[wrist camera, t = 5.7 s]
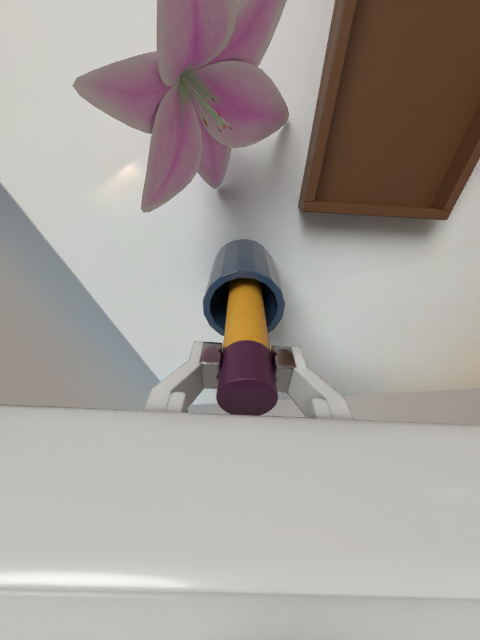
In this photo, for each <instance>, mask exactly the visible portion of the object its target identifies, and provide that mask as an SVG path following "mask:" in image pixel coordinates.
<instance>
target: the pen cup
mask: <svg viewBox="0 0 480 640" xmlns="http://www.w3.org/2000/svg"><path fill="white" fill-rule="evenodd" d="M236 278H253V279H256V280H258V281H260V282H261V289H262V296H263V303H264V310H265V317H266V324H267V332H268V333H269V332H271V331H272V330H274V329H275V327H276V326H277V325H278V323H279V322H280V320H281V319H282V317H283V312H284V307H285V302H284V299H283V295H282V291H281V288H280V285H279V282H278V278H277V275H276V272H275V269H274V265H273V262H272V259H271V256H270V255H269V253H268V251H267V250H266V249H265V248H264V247H263V246H262V245H260V244H259V243H257V242H254V241H251V240H246V239H241V240H235V241H232V242H230V243H228V244H226V245H225V246H224V247H223V248H222V249H221V250H220V251H219V252H218V254H217V256H216V258H215V261H214V263H213V267H212V270H211V274H210V277H209V281H208V285H207V288H206V292H205V295H204V299H203V310H204V315H205V317H206V319H207V321H208V323H209V325H210V326H211V327H212V328H213V329H214V330H216V331H217V332H218V333H219V334H221V335H222V336H224V333H225V324H226V315H227V306H228V296H229V287H230V280H233V279H236Z"/></svg>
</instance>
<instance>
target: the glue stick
mask: <svg viewBox="0 0 480 640" xmlns="http://www.w3.org/2000/svg"><path fill="white" fill-rule="evenodd" d="M216 398H217V402H218V404H219V406H220V407H221V408H222V409H223V410H224V411H226V412H228V413H230V414H233V415H257V416H259V415H262V414H264V413H267V412H268V411H270V410H271V409H272V408H273V407H274V406H275V405H276V402H277V400H278V394H277V387H276V380H275V373H274V367H273V360H272V355H271V352H270V346H269V339H268V332H267V324H266V317H265V310H264V303H263V296H262V289H261V282H260V281H258V280H256V279H253V278H236V279H233V280H230V287H229V296H228V306H227V315H226V324H225V333H224V342H223V352H222V356H221V365H220V373H219V378H218V387H217V396H216Z"/></svg>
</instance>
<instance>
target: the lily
mask: <svg viewBox="0 0 480 640" xmlns="http://www.w3.org/2000/svg"><path fill="white" fill-rule="evenodd" d="M285 3H286V0H238V1H237V0H157V51H155V52H150V53H146V54H142V55H138V56H134V57H131V58H128V59H124V60H121V61H118V62H115V63H112V64H109V65H107V66H104V67H101V68H99V69H96V70H93V71H91V72H88V73H86V74H84V75H82V76H80V77H78V78H77V79H76V80H75V82H74V84H73V87H74V88H75V90H76V91H77V92H78V94H79V95H80V96H81V97H83V98H84V99H85V100H87V101H88V102H89V103H91V104H92V105H94V106H95V107H97V108H98V109H100V110H102V111H103V112H105V113H106V114H108V115H110V116H111V117H113V118H115V119H117V120H119V121H121V122H122V123H124V124H126V125H128V126H130V127H132V128H135V129H137V130H140V131H142V132H145V133H150V134H152V136H151V143H150V150H149V157H148V165H147V172H146V178H145V184H144V189H143V195H142V203H141V209H142V211H143V212H150V211H152V210H154V209H156V208H158V207H160V206H161V205H163V204H164V203H166V202H167V201H169V200H170V199H171V198H173V197H174V196H175V195H177V194H178V193H179V192H180V191H182V190H183V189H184V188H185V187H186V186H187V185H188V184H189V183H190V182H191V180H192V179H193V177H194V176H195V174H196V173H197V172H198V173H199V175H200V176H201V177H202V178H203V179H204V180H205V181H206V183H208V184H209V185H210V186H211V187H213V188H214V189H216V188H218V187H219V186H220V184H221V182H222V180H223V178H224V175H225V172H226V169H227V165H228V161H229V157H230V151H231V147H232V148H239V147H246V146H249V145H251V144H254V143H257V142H258V141H260V140H262V139H264V138H266V137H268V136H270V135H271V134H273V133H274V132H276V131H277V130H279V129H280V128H281V127H282V126H283V125H284V124H285V123H286V122H287V120H288V116H289V112H288V108H287V105H286V103H285V101H284V99H283V97H282V96H281V94H280V92H279V91H278V89H277V87H276V86H275V84H274V83H273V81H272V80H271V79H270V78H269V77H268V76H267V75H266V74H265V73H264V72H263V71H262V70H261V69H259V68H257V67H258V65H259V64H260V62H261V60H262V58H263V56H264V54H265V52H266V50H267V48H268V46H269V44H270V41H271V39H272V37H273V34H274V32H275V29H276V27H277V24H278V22H279V20H280V17H281V14H282V12H283V9H284V6H285Z"/></svg>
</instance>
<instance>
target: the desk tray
mask: <svg viewBox="0 0 480 640" xmlns="http://www.w3.org/2000/svg"><path fill="white" fill-rule="evenodd" d="M479 158H480V0H335V5H334V10H333V16H332V21H331V27H330V33H329V38H328V44H327V49H326V55H325V60H324V66H323V71H322V77H321V83H320V88H319V94H318V99H317V105H316V110H315V116H314V122H313V127H312V133H311V138H310V144H309V149H308V155H307V160H306V166H305V172H304V177H303V183H302V188H301V194H300V199H299V205H298V207H299V208H300V209H301V210H303V211H304V212H321V213H337V214H354V215H370V216H387V217H403V218H420V219H436V220H447V219H448V217H449V215H450V213H451V210H452V209H453V207H454V206H455V204H456V202H457V200H458V198H459V196H460V194H461V192H462V190H463V189H464V187H465V185H466V183H467V181H468V179H469V177H470V175H471V173H472V172H473V170H474V168H475V166H476V164H477V162H478V160H479Z"/></svg>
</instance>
